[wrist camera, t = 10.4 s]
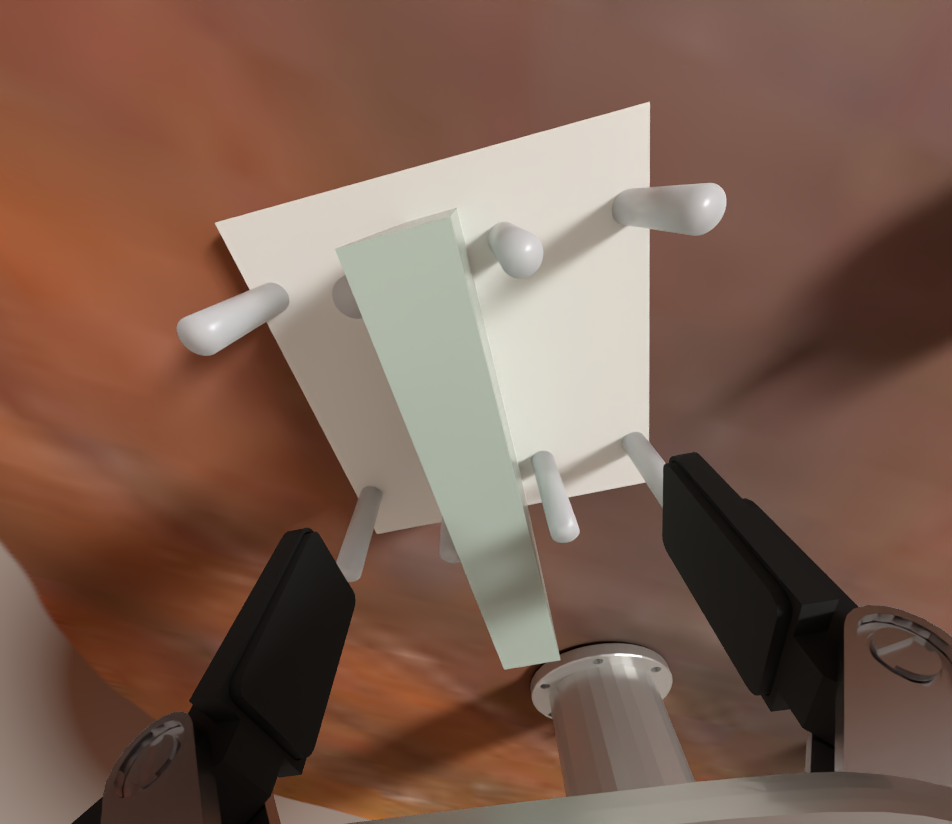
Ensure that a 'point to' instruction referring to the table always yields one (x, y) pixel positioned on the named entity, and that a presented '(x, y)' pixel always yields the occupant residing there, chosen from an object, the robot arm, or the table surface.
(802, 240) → the table surface
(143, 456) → the table surface
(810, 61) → the table surface
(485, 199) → the dish rack
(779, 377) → the table surface
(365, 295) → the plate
